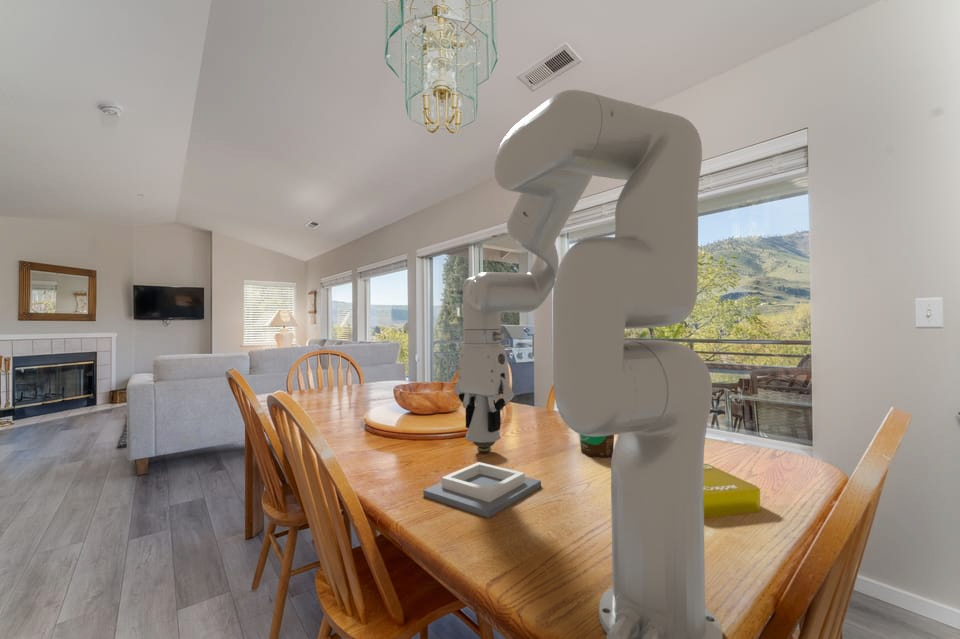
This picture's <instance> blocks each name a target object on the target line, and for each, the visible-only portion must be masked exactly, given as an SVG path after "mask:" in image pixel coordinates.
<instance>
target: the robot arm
mask: <svg viewBox="0 0 960 639" xmlns="http://www.w3.org/2000/svg"><path fill="white" fill-rule="evenodd" d="M702 158H703V148H702V141H701V137H700V133H699V132H698V129H697V128H696V126H695V125H694V124H693V123H692V122H691V121H690V120H689V119H687V118H685V117H684V116H681V115H678V114H675V113H672V112H667V111H663V110H662V111H661V110H658V109H654V108H649V107H647V106H642V105H638V104H634V103H631V102H628V101H624V100H618V99H614V98H612V97H607V96H604V95H601V94H597V93H593V92H590V91H586V90H585V91H584V90H579V89H568V90H564V91H563V90H562V91H561V92H559V93H556V94H554V95H553V96H551V97H550V98H548V99H547V100H545V102H543V103H542V104H540V105H539V106H538V107H537V108H535V109H534V110H533V111H531V112H530V113H528V114H527V115H526V116H525V117H523V118H522V119H521V120H520V121H519V122H517V123H516V124H515V125H513V127H512V128H511V129H510V130H509V131H508V133H507V134H506V136H504V138H503V139H502V142H501V143H500V144H499V147H498V150H497V152H496V155H495V158H494V159H495V160H494V168H493V170H494V177H495V180H496V182H497V184H498V186H499V187H501V189H503V190H505V191H508V192H516V193H519V195H518V196H517V199H516V201H515V203H514V206H513V207H512V210H511V212H510V214H509V217H508V219H507V222H506V228H507V231H508V233H509V234H508V235H510V237H511V238H512V239H513V240H514V242H516V244H518V245H519V246H520V247H522V248H523V249H525V250H527V251H528V252H530V253H532V254H533V255H535V256H536V257H535V259H534V262H533V263H532V265H531V267H530V269H529V270H528V272H527V273H525V272H524V273H523V272H509V271H508V272H507V271H506V272H504V271H502V272H501V271H500V272H498V271H482V272H479V273H478V274H476V275H475V276H471V277H468V278H466V279H465V280H464V282H463V283H462V324H463V326H462V327H463V332H462V333H463V336H462V337H463V338H462V339H463V344H462V345H461V348H460V352H459V357H458V358H459V360H458V372H457V373H458V374H457V375H458V376H457V378H458V379H457V382H456V384H455V385H454V387H453V392H454V393H455V394H456V396H458V399H459V400H460V402H461V403H462V407H463V408H464V409H465V428H467V429H468V428H469V425H470V422H471V419H472V416H473V413H474V410H475V404H476V395H480V396H487V397H488V402H489V406H490V410H491V411H490V412H488V431H489V432H495V431H497V430H498V431H499V430H500V429H501V424H502V422H501V416H502V414H501V411H502V410H503V409H504V407H505V406H506V405H507V404H508V402H511V400H512V399H514V398H515V393H514V391H513V390H512V388H511V387H510V375H509V374H510V373H509V364H508V357H507V353H506V348H505V345H504V344H503V345H502V343H501V342H502V341H503V340H505V338H506V335H505V333H504V332H502V331H501V314H502V313H503V314H504V313H521V314H522V313H525V314H526V313H531V312H534V311H535V310H537V309H539V308H540V307H541V306H542V305H543V303H544V302H545V301H546V299H548V297H549V294H550V293H551V292H552V290H553V297H552V383H553V386H552V387H553V394H554V400H555V403H556V404H555V405H556V408H557V410H558V414H559V415H560V417H561V420H563V422H564V423H565V425H567V426H568V428H570V430H572V431H573V432H575V433H577V434H582V435H585V436H592V437H598V436H608V435H614V436H615V435H617V437H616V441H615V443H614V447H613V455H612V457H611V461H610V462H611V463H610V464H611V466H610V488H611V489H610V491H611V493H610V501H611V506H610V507H611V509H610V510H611V560H612V561H611V566H612V567H611V569H612V570H611V571H612V573H611V574H612V578H611V579H612V586H611V587H610V588H607V590H606V591H605V592H604V593H603V594H602V595H601V597H600V599H599V602H598V616H599V617H598V618H599V622H600V625H601V627H602V629H603V631H604V632H605V633H606V636H605V639H723V630H722V626H721V624H720V622H719V620H718V618H717V617H716V616H715V615H714V614H713V612H712V611H711V610H710V609H709V608H708V607H707V606H706V576H705V575H706V571H705V570H706V567H705V566H706V564H705V563H706V562H705V559H706V558H705V518H704V464H705V463H704V459H705V443H706V435H707V429H708V424H709V419H710V413H711V408H712V401H713V400H712V399H713V384H712V383H713V382H712V377H711V375H710V370H709V368H708V366H707V364H706V362H704V360H703V359H702V357H701V356H700V355H699V354H698V353H697V352H696V351H695V350H693V349H692V348H690V347H688V346H686V345H685V344H682V343H679V342H676V341H672V340H671V341H670V340H664V339H662V340H661V339H649V340H646V339H644V340H643V339H642V340H627V341H626V340H625V332H626V329H655V328H667V327H671V326H672V327H673V326H674V325H677V324H680V323H682V322H684V321H685V320H686V319H687V318H688V317H689V316H690V315H691V314H692V312H693V311H694V308H695V305H696V302H697V298H698V297H697V296H698V282H699V281H698V279H699V278H698V276H699V274H698V272H699V270H698V269H699V268H698V267H699V264H698V263H699V259H698V258H699V215H698V214H699V212H698V208H699V207H698V201H699V188H700V187H699V186H700V178H701V177H700V176H701V168H702V163H703V162H702V160H703V159H702ZM593 176H594V177H601V178H606V179H607V178H608V179H613V180H622V181H626V182H625V184H624V185H623V187H622V188H621V189H622V190H621V192H620V193H619V195H618V199H617V202H616V206H615V211H614V212H615V213H614V220H615V221H614V222H615V224H614V225H615V230H614V231H615V232H614V237H613V236H591V237H588V238H585V239H584V238H583V239H582V240H580V241H577V242H576V243H574V244H573V245H572V246H571V247H570V248H569V249H568V250H567V251H566V252H565V254H564V256H563V257H562V259H561V261H560V262H559V253H558V250H557V247H556V245H555V243H556V242H557V239H558V238H559V235H560V234H561V231H563V228H564V227H565V225H566V224H567V221H568V220H569V218H570V217H571V214H572V213H573V211H574V210H575V208H576V207H577V204H578V202H579V200H580V199H581V197H582V196H583V194H584V192H585V190H586V188H587V187H588V186H589V183H590V182H591V179H592V177H593ZM501 395H503V396H501Z"/></svg>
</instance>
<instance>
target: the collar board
mask: <svg viewBox="0 0 960 639" xmlns="http://www.w3.org/2000/svg"><path fill="white" fill-rule="evenodd" d="M537 488H538V489H539V488H542V480H539V479H536V478H532V477H528V476H526V475H525V472H522V471H517V470H513V469H509V468H505V467H501V466H498V465H497V466H496V465H493V464H489V463H485V462H480V461H478V462H475V463H472V464H471V465H468V466H466V467H463V468H462V469H459V470H456V471H454V472H451V473H449V474H446V475H445V476H443V477H441V482H439V483H437V484H434V485H431V486H430V487H427V488H425V489H423V492H422V494H423V497H425V498H428V499H431V500H434V501H437V502H440V503H442V504H445V505H449V506H452V507H454V508H457V509H461V510H463V511H466V512H470V513H472V514H475V515H477V516H481V517H483V518H486V519H487V518H488V519H489V518H491V517H494V516H495V515H496V514H498V513H499V512H501V511H502V510H505V509H506V508H507V507H510V506H511V505H513V504H514V503H516V502H518V501H519V500H521V499H522V498H525V497H526V496H527V495H529V494H532V493H533V492H534V491H536V490H538V489H537ZM532 491H533V492H532ZM504 508H505V509H504Z"/></svg>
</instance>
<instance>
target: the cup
mask: <svg viewBox="0 0 960 639" xmlns="http://www.w3.org/2000/svg"><path fill="white" fill-rule="evenodd" d="M472 443H473V445H475V446H476V447H477V448H476V450H477V452H478V453H479V454H484V453H485V454H489V453H490V452H491V451H492V447H493V446H494V445H495V443H496V441H495V442H481V443H479V442H472Z"/></svg>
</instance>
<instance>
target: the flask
mask: <svg viewBox="0 0 960 639" xmlns="http://www.w3.org/2000/svg"><path fill="white" fill-rule="evenodd" d="M490 411H491V410H490V406H489V402H488V397H487V396H480V395H476V403H475V410H474V413H473V416H472V419H471V422H470V425H469V428H467V432H466V435H465V439H466V441H467V442H472V443H473V442H479V443H481V442H495V443H496V441H499V440H501V435H500V431H499V430H497V431H495V432H489V431H488V412H490Z"/></svg>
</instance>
